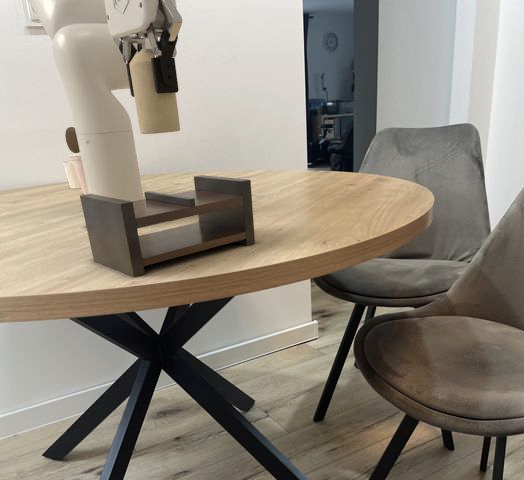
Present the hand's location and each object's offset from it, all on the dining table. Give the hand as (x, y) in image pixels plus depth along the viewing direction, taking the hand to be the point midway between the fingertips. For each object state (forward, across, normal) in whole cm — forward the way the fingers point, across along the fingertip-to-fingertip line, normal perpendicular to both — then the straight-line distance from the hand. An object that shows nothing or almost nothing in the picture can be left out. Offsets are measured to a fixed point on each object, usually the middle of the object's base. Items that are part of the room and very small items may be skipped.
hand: (154, 93), depth 69 cm
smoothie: (+20, -66, +18) cm, 71 cm away
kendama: (+20, -53, +14) cm, 59 cm away
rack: (+21, +3, -2) cm, 21 cm away
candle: (+5, 0, 0) cm, 5 cm away
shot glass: (+20, -82, +22) cm, 87 cm away
